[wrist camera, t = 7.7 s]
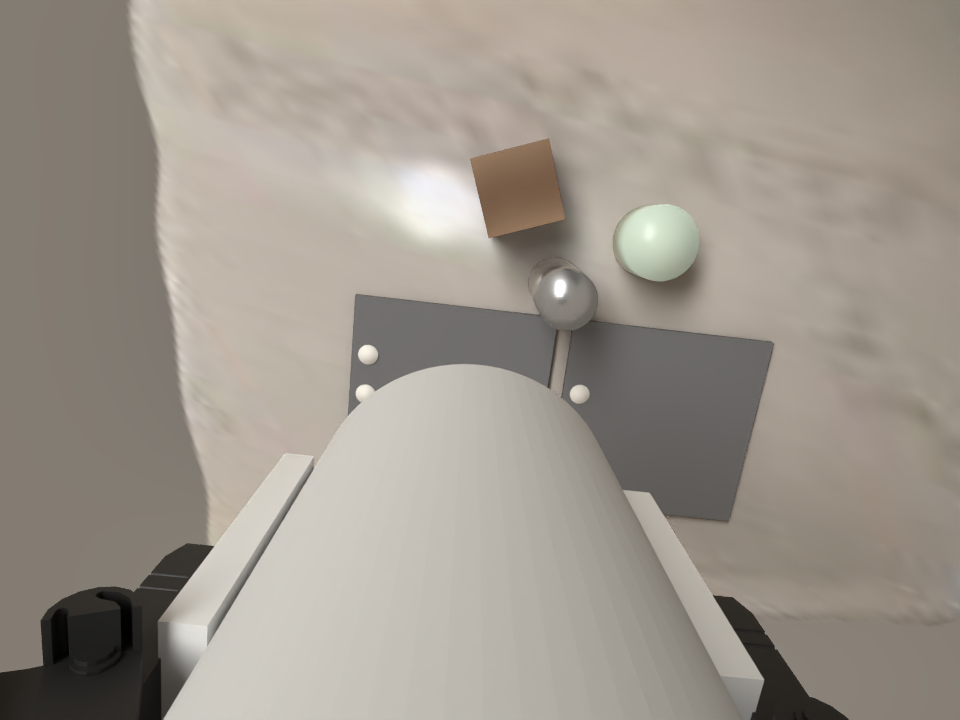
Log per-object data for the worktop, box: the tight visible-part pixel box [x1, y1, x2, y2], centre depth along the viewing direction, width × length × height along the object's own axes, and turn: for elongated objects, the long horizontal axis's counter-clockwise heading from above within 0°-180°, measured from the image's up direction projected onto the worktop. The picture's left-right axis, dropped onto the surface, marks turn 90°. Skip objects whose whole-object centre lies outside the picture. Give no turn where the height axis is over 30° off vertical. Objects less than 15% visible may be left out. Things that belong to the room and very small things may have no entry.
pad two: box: [561, 321, 774, 521], centre depth 38 cm, size 12×12×1 cm
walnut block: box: [470, 139, 565, 238], centre depth 32 cm, size 4×4×4 cm
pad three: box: [348, 294, 556, 415], centre depth 37 cm, size 12×12×1 cm
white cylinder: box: [163, 364, 743, 720], centre depth 11 cm, size 8×8×12 cm
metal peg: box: [528, 257, 598, 331], centre depth 33 cm, size 3×3×6 cm
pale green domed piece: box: [613, 204, 700, 281], centre depth 34 cm, size 4×4×3 cm
